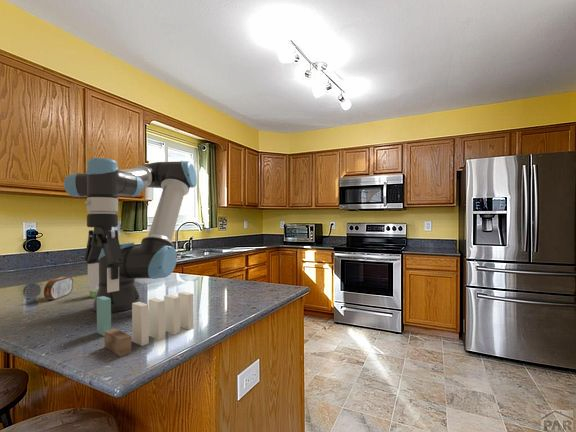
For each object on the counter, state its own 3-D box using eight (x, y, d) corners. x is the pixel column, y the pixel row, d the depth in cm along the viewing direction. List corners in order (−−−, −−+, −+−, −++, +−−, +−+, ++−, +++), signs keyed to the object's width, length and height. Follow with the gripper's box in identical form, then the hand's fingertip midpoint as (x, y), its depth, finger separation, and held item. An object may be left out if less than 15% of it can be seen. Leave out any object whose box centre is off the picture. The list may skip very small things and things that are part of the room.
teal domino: (104, 336, 82) (103, 300, 82) (96, 332, 85) (96, 297, 85) (111, 334, 84) (110, 298, 84) (103, 330, 87) (103, 296, 87)
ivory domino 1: (141, 345, 76) (141, 306, 76) (132, 341, 79) (132, 303, 79) (148, 343, 77) (148, 304, 77) (139, 339, 80) (138, 301, 80)
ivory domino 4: (188, 329, 86) (187, 295, 86) (178, 326, 89) (178, 292, 89) (193, 327, 88) (193, 293, 88) (183, 324, 91) (183, 291, 91)
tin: (67, 293, 134) (67, 274, 134) (74, 292, 134) (74, 274, 134) (42, 302, 119) (42, 281, 119) (51, 302, 119) (51, 281, 119)
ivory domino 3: (174, 334, 83) (173, 298, 83) (164, 330, 86) (164, 295, 86) (180, 332, 84) (179, 297, 84) (170, 328, 87) (169, 294, 87)
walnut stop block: (104, 347, 75) (104, 331, 75) (114, 343, 77) (114, 328, 77) (120, 356, 70) (120, 339, 70) (131, 352, 72) (131, 336, 72)
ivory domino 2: (158, 340, 79) (158, 302, 79) (149, 335, 82) (148, 299, 82) (165, 337, 81) (164, 300, 81) (155, 333, 84) (155, 298, 84)
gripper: (71, 214, 90) (71, 285, 89) (106, 211, 74) (106, 297, 74) (99, 214, 95) (99, 281, 95) (137, 212, 80) (137, 291, 80)
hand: (102, 288), depth 84 cm, fingers open, 13 cm apart
